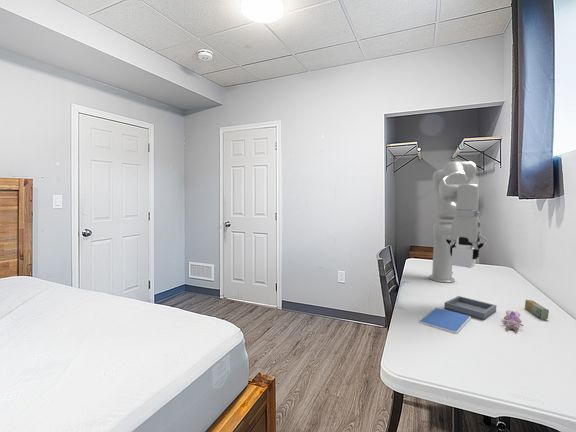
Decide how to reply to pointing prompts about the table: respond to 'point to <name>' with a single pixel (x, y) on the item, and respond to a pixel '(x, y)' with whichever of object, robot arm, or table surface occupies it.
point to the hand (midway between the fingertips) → (463, 257)
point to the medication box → (536, 309)
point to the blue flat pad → (445, 320)
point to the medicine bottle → (463, 253)
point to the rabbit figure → (512, 320)
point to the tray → (470, 307)
